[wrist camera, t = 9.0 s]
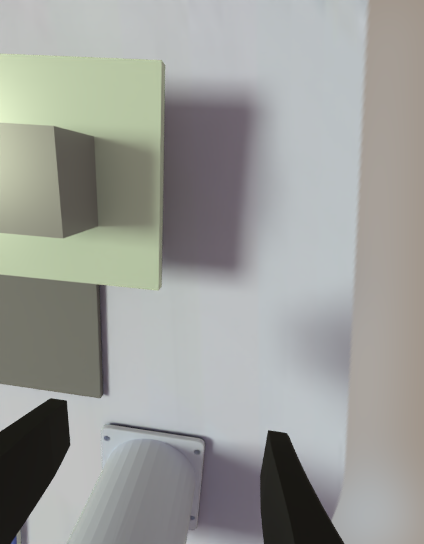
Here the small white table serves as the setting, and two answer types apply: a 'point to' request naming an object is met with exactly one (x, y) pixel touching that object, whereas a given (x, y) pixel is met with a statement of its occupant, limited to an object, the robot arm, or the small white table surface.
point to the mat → (50, 335)
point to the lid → (82, 169)
